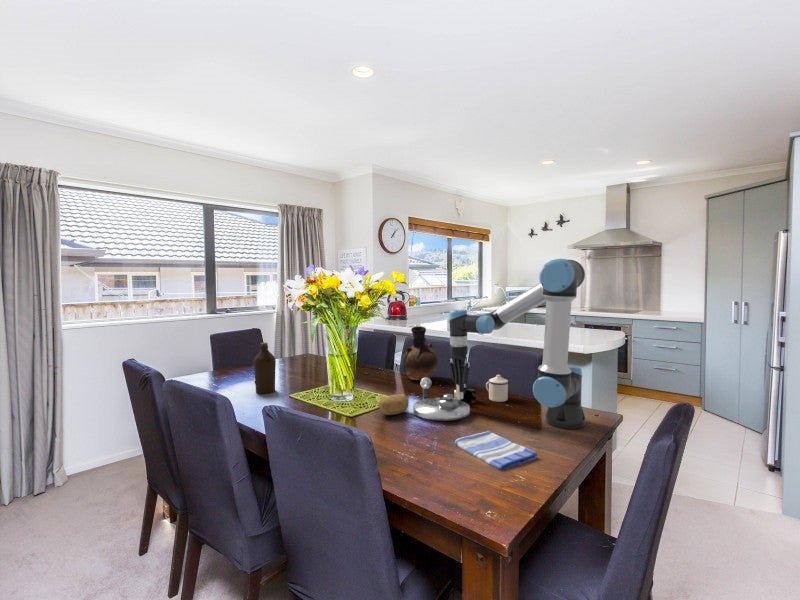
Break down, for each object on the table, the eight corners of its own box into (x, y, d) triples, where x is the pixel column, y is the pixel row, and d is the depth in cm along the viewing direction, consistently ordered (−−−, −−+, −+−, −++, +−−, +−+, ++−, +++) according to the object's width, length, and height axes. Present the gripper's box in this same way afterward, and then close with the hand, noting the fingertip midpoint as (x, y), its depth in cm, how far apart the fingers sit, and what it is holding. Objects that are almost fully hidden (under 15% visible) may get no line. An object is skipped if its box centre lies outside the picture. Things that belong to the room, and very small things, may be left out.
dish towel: (489, 435, 156) (490, 428, 156) (539, 460, 136) (539, 451, 136) (452, 445, 148) (452, 437, 148) (499, 473, 127) (499, 464, 127)
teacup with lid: (512, 399, 199) (512, 375, 198) (499, 403, 193) (499, 378, 193) (492, 394, 208) (492, 370, 208) (479, 397, 203) (480, 373, 202)
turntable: (441, 425, 163) (441, 407, 162) (401, 409, 181) (401, 393, 181) (481, 411, 178) (481, 395, 178) (440, 398, 196) (440, 384, 196)
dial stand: (431, 404, 192) (431, 377, 191) (421, 405, 191) (420, 378, 190) (429, 402, 196) (429, 375, 195) (418, 402, 195) (418, 376, 194)
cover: (461, 407, 178) (461, 395, 178) (448, 411, 173) (448, 399, 172) (447, 402, 184) (447, 391, 184) (434, 406, 179) (434, 395, 179)
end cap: (467, 399, 201) (467, 385, 200) (477, 403, 195) (477, 388, 194) (450, 402, 196) (450, 387, 196) (459, 406, 190) (459, 391, 190)
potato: (373, 414, 180) (373, 395, 179) (400, 408, 187) (400, 390, 187) (385, 420, 171) (385, 401, 171) (413, 414, 179) (413, 395, 179)
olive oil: (280, 389, 218) (279, 341, 217) (267, 395, 208) (266, 345, 207) (263, 387, 222) (262, 340, 220) (250, 393, 212) (248, 344, 210)
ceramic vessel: (429, 374, 250) (429, 324, 248) (444, 381, 234) (444, 327, 232) (396, 378, 241) (396, 326, 239) (409, 385, 225) (409, 329, 223)
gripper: (475, 346, 180) (476, 400, 181) (455, 342, 190) (456, 394, 192) (462, 348, 175) (463, 403, 177) (442, 344, 186) (444, 397, 187)
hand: (460, 398), depth 184 cm, fingers closed
